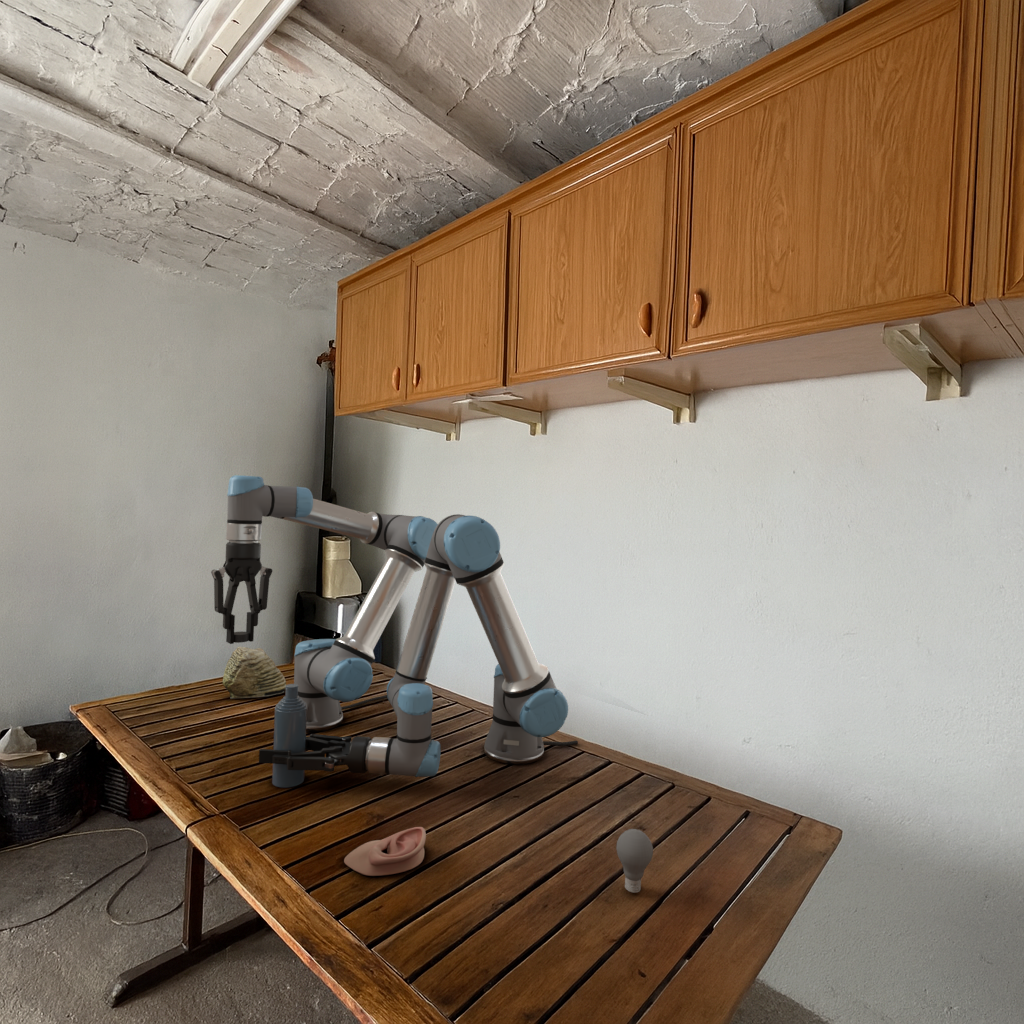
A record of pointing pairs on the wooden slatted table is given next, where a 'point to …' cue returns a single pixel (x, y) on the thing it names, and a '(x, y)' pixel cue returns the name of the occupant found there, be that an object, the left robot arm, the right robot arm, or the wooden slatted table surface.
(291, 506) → the left robot arm
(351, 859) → the anatomical model
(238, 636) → the cap
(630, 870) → the light bulb
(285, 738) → the bottle
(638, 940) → the wooden slatted table surface
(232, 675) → the fossil
